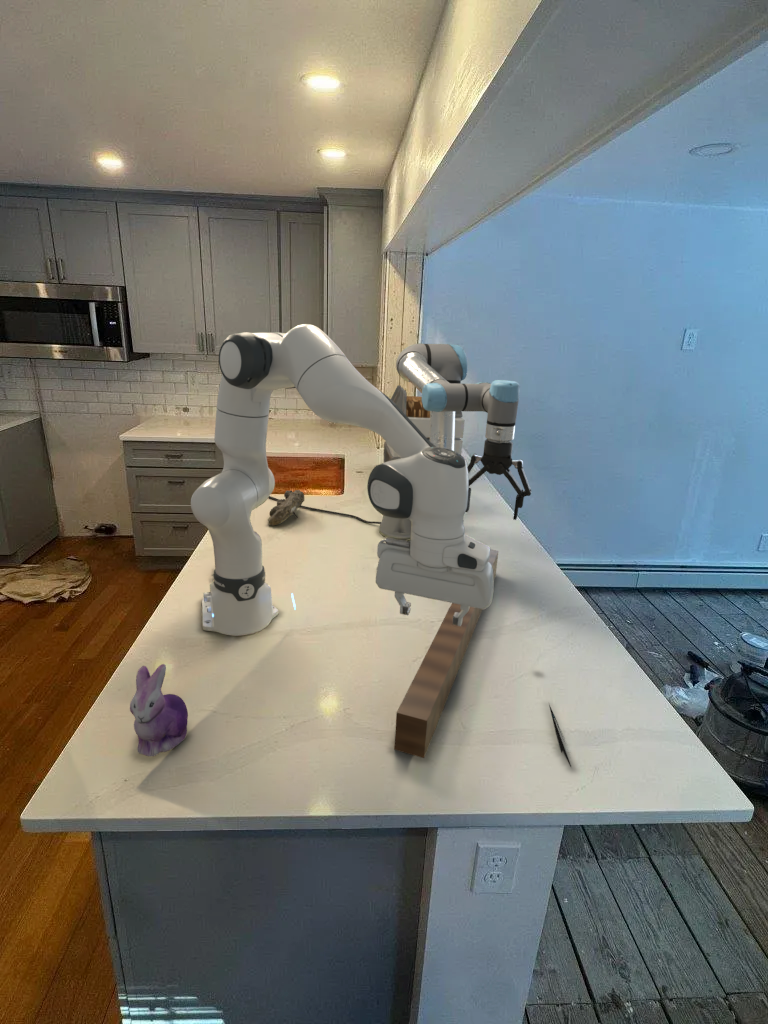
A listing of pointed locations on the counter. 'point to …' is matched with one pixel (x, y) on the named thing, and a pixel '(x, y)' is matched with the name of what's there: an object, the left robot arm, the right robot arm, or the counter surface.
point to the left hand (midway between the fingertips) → (430, 618)
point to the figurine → (157, 714)
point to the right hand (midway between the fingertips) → (490, 514)
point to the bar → (435, 680)
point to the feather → (559, 735)
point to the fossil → (286, 507)
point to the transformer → (420, 420)
